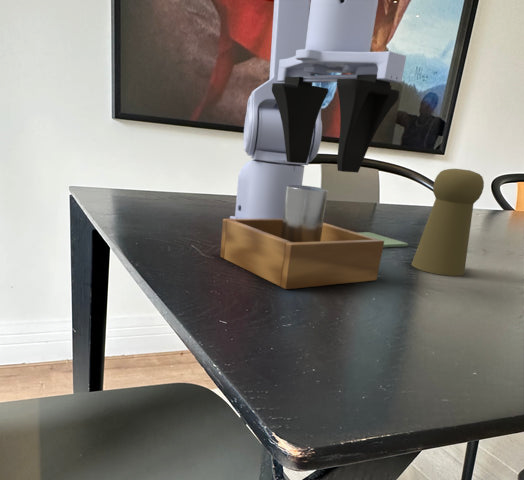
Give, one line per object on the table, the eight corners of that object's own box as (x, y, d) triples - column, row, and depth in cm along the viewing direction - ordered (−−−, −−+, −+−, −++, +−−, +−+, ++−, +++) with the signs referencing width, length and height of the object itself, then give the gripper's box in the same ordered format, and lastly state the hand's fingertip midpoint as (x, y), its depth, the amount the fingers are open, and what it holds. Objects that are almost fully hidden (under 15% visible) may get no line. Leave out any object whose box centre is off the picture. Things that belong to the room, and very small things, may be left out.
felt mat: (332, 235, 71) (332, 233, 71) (369, 234, 75) (369, 232, 75) (370, 248, 65) (370, 245, 65) (407, 246, 69) (408, 243, 69)
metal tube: (269, 264, 52) (278, 184, 48) (299, 262, 54) (310, 185, 51) (293, 275, 49) (304, 190, 45) (323, 272, 51) (336, 191, 48)
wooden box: (219, 257, 52) (222, 218, 51) (305, 252, 59) (309, 218, 57) (285, 289, 44) (291, 244, 42) (376, 280, 50) (384, 240, 49)
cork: (468, 278, 55) (497, 174, 51) (413, 270, 56) (437, 167, 52) (460, 266, 61) (485, 171, 56) (409, 259, 61) (430, 165, 57)
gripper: (258, -2, 46) (245, 156, 51) (374, -29, 35) (341, 174, 40) (316, 16, 49) (298, 160, 55) (436, -4, 39) (399, 178, 44)
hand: (320, 167), depth 48 cm, fingers open, 7 cm apart
